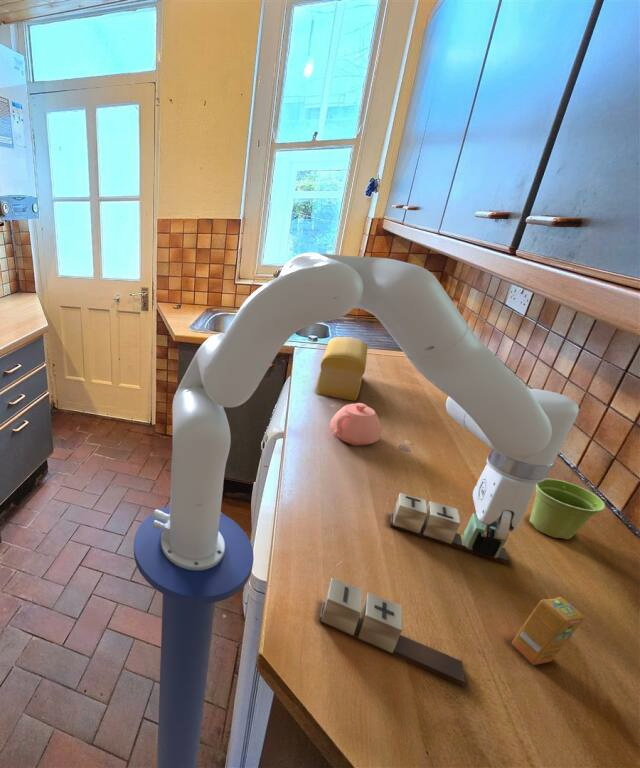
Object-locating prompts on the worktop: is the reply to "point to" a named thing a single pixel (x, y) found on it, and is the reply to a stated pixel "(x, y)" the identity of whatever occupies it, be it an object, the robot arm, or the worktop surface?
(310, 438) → the worktop surface
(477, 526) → the pale green cube
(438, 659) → the front word
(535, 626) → the supplement box
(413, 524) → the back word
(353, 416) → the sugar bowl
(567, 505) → the plant pot
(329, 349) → the bread
